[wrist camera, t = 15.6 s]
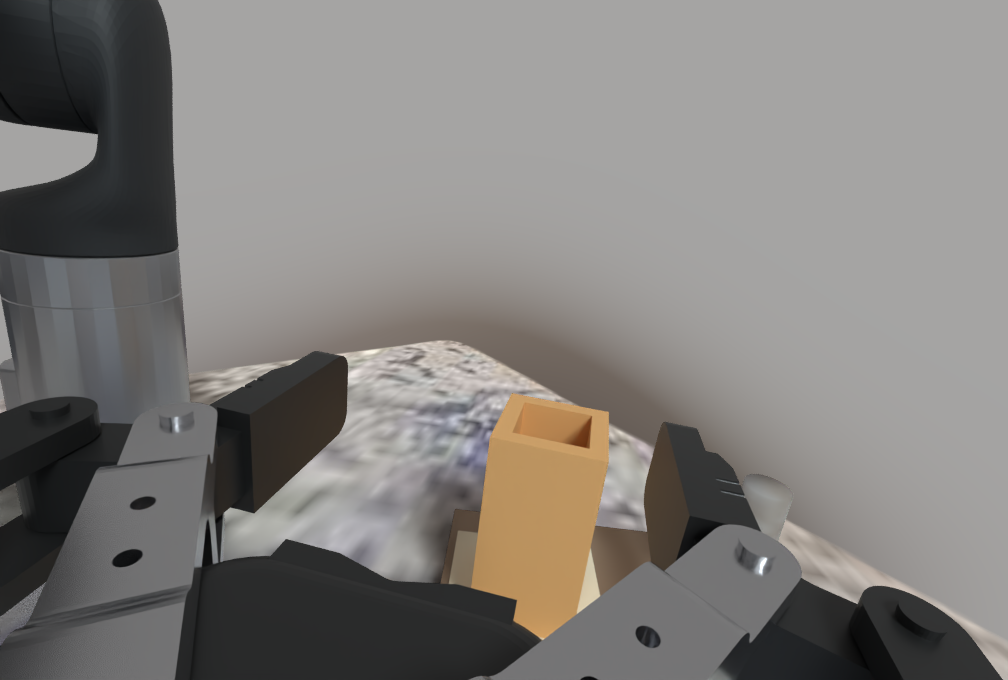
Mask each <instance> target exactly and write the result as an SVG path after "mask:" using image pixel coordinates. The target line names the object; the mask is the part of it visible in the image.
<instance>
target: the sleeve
mask: <svg viewBox="0 0 1008 680" xmlns="http://www.w3.org/2000/svg"><path fill="white" fill-rule="evenodd" d="M608 462H609V413H608V412H604V411H599V410H594V409H590V408H584V407H579V406H574V405H569V404H564V403H559V402H554V401H549V400H544V399H539V398H534V397H528V396H523V395H518V394H513V393H512V394H511V396H510V398H509V400H508V402H507V404H506V406H505V408H504V410H503V412H502V414H501V416H500V418H499V420H498V422H497V424H496V426H495V428H494V430H493V432H492V434H491V436H490V442H489V450H488V458H487V466H486V474H485V482H484V490H483V497H482V505H481V513H480V521H479V529H478V537H477V545H476V553H475V561H474V569H473V576H472V584H471V588H473V589H477V590H481V591H485V592H489V593H492V594H496V595H500V596H504V597H507V598H511V599H515V600H517V604H516V609H515V615H514V621H515V622H516V623H518V624H520V625H522V626H523V627H525V628H526V629H528V630H529V631H531V632H532V633H534V634H535V635H537V636H538V637H541V638H546V637H548V636H549V635H550V634H551V633H553V632H554V631H555V630H557V629H558V628H559V627H561V626H562V625H563V624H565V623H566V622H567V621H568V620H570V619H571V618H572V617H574V616H575V615H576V614H577V609H578V604H579V600H580V595H581V590H582V585H583V581H584V576H585V571H586V567H587V562H588V557H589V552H590V548H591V543H592V538H593V533H594V529H595V524H596V519H597V514H598V510H599V505H600V500H601V495H602V491H603V486H604V481H605V477H606V472H607V467H608Z"/></svg>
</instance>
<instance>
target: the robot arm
mask: <svg viewBox="0 0 1008 680" xmlns="http://www.w3.org/2000/svg"><path fill="white" fill-rule="evenodd" d="M0 120H3V121H6V122H11V123H16V124H22V125H30V126H38V127H45V128H53V129H61V130H69V131H77V132H85V133H92V134H98V142H97V151H96V154H95V157H94V159H93V160H92V161H91V162H90V163H89V164H88V165H87V166H85V167H84V168H82V169H81V170H79V171H77V172H75V173H73V174H71V175H68V176H66V177H64V178H61V179H59V180H55V181H51V182H48V183H43V184H38V185H33V186H27V187H22V188H16V189H11V190H6V191H2V192H0V295H1V300H2V306H3V311H4V316H5V320H6V321H5V322H6V327H7V332H8V337H9V342H10V347H11V353H12V358H11V359H8V360H6V361H4V362H3V363H2V364H1V365H0V379H1V384H2V389H3V394H4V399H5V404H6V409H7V411H5V412H3V413H0V490H2V489H4V488H6V487H8V486H10V485H12V484H13V483H16V487H17V491H18V496H19V500H20V504H21V509H22V513H23V514H22V515H20V516H18V517H17V518H15V519H13V520H12V521H10V522H8V523H7V524H5V525H3V526H2V527H0V616H2V615H3V614H4V613H6V612H7V611H8V610H9V609H11V608H12V607H13V606H15V605H16V604H17V603H19V602H20V601H21V600H23V599H24V598H25V597H27V596H28V595H29V594H31V593H32V592H33V591H34V590H36V589H37V588H38V587H40V586H41V585H42V584H44V583H45V582H46V581H47V582H46V584H45V586H44V588H43V590H42V593H41V595H40V597H39V599H38V602H37V604H36V606H35V608H34V611H33V613H32V615H31V617H30V619H29V621H28V622H27V624H26V625H25V626H24V627H22V628H19V629H16V630H14V631H13V632H11V633H10V634H9V636H8V637H7V638H6V639H5V641H4V642H3V644H2V645H1V646H0V680H1003V679H1002V678H1001V677H1000V675H999V674H998V673H997V671H996V670H995V669H994V667H993V666H992V665H991V663H990V662H989V661H988V659H987V658H986V657H985V655H984V654H983V652H982V651H981V650H980V648H979V647H978V646H977V644H976V643H975V642H974V640H973V639H972V638H971V637H970V636H969V634H968V633H967V632H966V631H965V630H964V629H963V628H962V627H961V626H960V625H959V624H958V623H957V622H955V621H954V620H953V619H952V618H951V617H949V616H948V615H947V614H945V613H944V612H942V611H941V610H939V609H938V608H936V607H935V606H933V605H932V604H930V603H928V602H926V601H924V600H923V599H921V598H919V597H916V596H914V595H912V594H910V593H907V592H905V591H902V590H899V589H895V588H891V587H886V586H872V587H869V588H867V589H866V590H864V592H863V594H862V596H861V598H860V600H859V602H858V604H856V603H853V602H851V601H849V600H847V599H844V598H842V597H840V596H837V595H835V594H833V593H831V592H828V591H826V590H824V589H821V588H819V587H817V586H815V585H813V584H811V583H809V582H807V581H806V580H804V579H802V578H801V575H802V571H801V567H800V565H799V563H798V561H797V559H796V558H795V557H794V555H793V554H792V553H791V552H790V551H789V550H788V549H787V548H786V547H785V546H783V545H782V544H781V543H779V542H778V541H776V540H775V539H773V538H772V537H770V536H768V535H766V534H764V533H762V532H761V530H760V528H759V525H758V523H757V521H756V519H755V516H754V514H753V512H752V510H751V508H750V505H749V503H748V501H747V499H746V498H744V496H745V494H744V492H743V490H742V488H741V486H740V485H739V481H738V479H737V476H736V475H735V472H734V470H733V468H732V467H731V466H730V465H729V464H728V463H727V462H726V461H725V460H724V459H723V458H722V457H721V456H719V455H718V454H716V453H712V452H707V451H705V448H704V446H703V443H702V440H701V437H700V435H699V432H698V430H697V429H696V428H692V427H687V426H682V425H677V424H673V423H668V422H663V424H662V425H661V428H660V431H659V434H658V438H657V442H656V446H655V449H654V453H653V457H652V461H651V465H650V469H649V472H648V476H647V480H646V486H645V493H644V509H645V517H646V525H647V533H648V541H649V550H650V558H651V561H649V562H646V563H643V564H642V565H640V566H639V567H638V568H636V569H635V570H634V571H633V572H631V573H630V574H629V575H627V576H626V577H625V578H623V579H622V580H621V581H619V582H618V583H617V584H616V585H614V586H613V587H612V588H610V589H609V590H608V591H606V592H605V593H604V594H602V595H601V596H600V597H599V598H597V599H596V600H595V601H593V602H592V603H591V604H589V605H588V606H587V607H585V608H584V609H583V610H582V611H580V612H579V613H578V614H576V615H575V616H574V617H572V618H571V619H570V620H568V621H567V622H566V623H565V624H563V625H562V626H561V627H559V628H558V629H557V630H555V631H554V632H553V633H551V634H550V635H549V636H548V637H546V638H545V639H544V640H541V639H540V638H539V637H538V636H537V635H535V634H534V633H532V632H531V631H529V630H528V629H526V628H525V627H523V626H522V625H520V624H518V623H516V622H515V621H514V615H515V609H516V604H517V600H515V599H511V598H507V597H504V596H500V595H496V594H492V593H489V592H485V591H481V590H477V589H473V588H470V587H466V586H462V585H458V584H441V583H420V582H399V581H392V580H388V579H386V578H384V577H382V576H380V575H379V574H377V573H375V572H373V571H371V570H369V569H368V568H366V567H364V566H362V565H360V564H359V563H357V562H355V561H353V560H351V559H349V558H348V557H346V556H344V555H342V554H340V553H337V552H333V551H329V550H326V549H322V548H318V547H314V546H310V545H307V544H303V543H299V542H295V541H291V540H288V539H286V540H285V541H284V542H283V543H282V544H281V545H280V546H279V547H278V549H277V550H276V551H275V552H274V553H273V554H272V555H271V556H257V557H245V558H238V559H232V560H228V561H223V552H224V534H225V518H224V512H225V511H226V510H228V509H229V508H230V507H231V508H235V509H239V510H243V511H247V512H251V513H255V512H256V511H257V510H258V509H259V508H260V507H261V506H263V505H264V504H265V503H266V502H267V501H268V500H269V499H270V498H271V497H272V496H273V495H274V494H275V493H276V492H277V491H279V490H280V489H281V488H282V487H283V486H284V485H285V484H286V483H287V482H288V481H289V480H290V479H291V478H292V477H293V476H295V475H296V474H297V473H298V472H299V471H300V470H301V469H302V468H303V467H304V466H305V465H306V464H307V463H308V462H310V461H311V460H312V459H313V458H314V457H315V456H316V455H317V454H318V453H319V452H320V451H321V450H322V449H323V448H324V447H326V446H327V445H328V444H329V443H330V442H331V441H332V440H333V439H334V438H335V437H336V436H337V435H338V434H339V433H340V431H341V429H342V427H343V425H344V422H345V419H346V414H347V385H348V363H347V360H346V358H345V357H344V356H339V355H334V354H329V353H324V352H319V351H314V352H312V353H310V354H309V355H307V356H305V357H303V358H302V359H300V360H298V361H296V362H295V363H293V364H291V365H289V366H285V367H282V368H278V369H274V370H271V371H270V372H268V373H266V374H264V375H262V376H261V377H259V378H257V380H253V381H252V382H250V383H248V384H246V385H245V387H241V388H239V389H237V390H236V391H234V392H232V393H230V394H228V395H227V396H225V397H223V398H221V399H219V400H218V401H216V402H214V403H212V404H210V405H207V404H203V403H195V402H190V390H189V377H188V365H187V351H186V338H185V325H184V312H183V300H182V289H181V276H180V263H179V250H178V237H177V223H176V198H175V180H174V166H173V165H174V164H173V121H172V120H173V119H172V66H171V52H170V45H169V37H168V31H167V26H166V22H165V18H164V15H163V12H162V9H161V6H160V4H159V2H158V0H0Z"/></svg>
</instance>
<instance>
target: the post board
mask: <svg viewBox="0 0 1008 680" xmlns="http://www.w3.org/2000/svg"><path fill="white" fill-rule="evenodd" d="M742 490H743V492H744V494H745V496H744V498H746V499H747V501H748V503H749V505H750V508H751V510H752V512H753V514H754V516H755V519H756V521H757V523H758V525H759V528H760V530H761V532H762V533H764V534H766V535H768V536H770V537H772V538H773V539H775V540H776V541H778V540H779V537H780V534H781V531H782V528H783V525H784V522H785V519H786V517H787V514H788V511H789V508H790V505H791V502H792V499H793V492H792V491H791V490H790V488H788V487H787V486H786V485H785V484H783V483H781V482H780V481H778V480H776V479H773V478H771V477H768V476H764V475H759V474H750V475H747V476H746V477H745V478H744V481H743V485H742ZM480 513H481V512H477V511H468V510H460V509H455V511H454V516H453V521H452V527H451V532H450V537H449V542H448V547H447V552H446V557H445V562H444V568H443V573H442V578H441V584H458V585H462V586H466V587H470V588H471V584H472V576H473V569H474V561H475V553H476V545H477V537H478V529H479V521H480ZM649 561H651V558H650V550H649V541H648V533H647V532H643V531H634V530H626V529H618V528H609V527H601V526H595V529H594V533H593V538H592V543H591V548H590V552H589V557H588V562H587V567H586V571H585V576H584V581H583V585H582V590H581V595H580V600H579V604H578V609H577V614H578V613H579V612H580V611H582V610H583V609H584V608H585V607H587V606H588V605H589V604H591V603H592V602H593V601H595V600H596V599H597V598H599V597H600V596H601V595H602V594H604V593H605V592H606V591H608V590H609V589H610V588H612V587H613V586H614V585H616V584H617V583H618V582H619V581H621V580H622V579H623V578H625V577H626V576H627V575H629V574H630V573H631V572H633V571H634V570H635V569H636V568H638V567H639V566H640V565H642V564H643V563H646V562H649ZM539 638H540V639H541V640H544V639H545V638H541V637H539Z"/></svg>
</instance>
